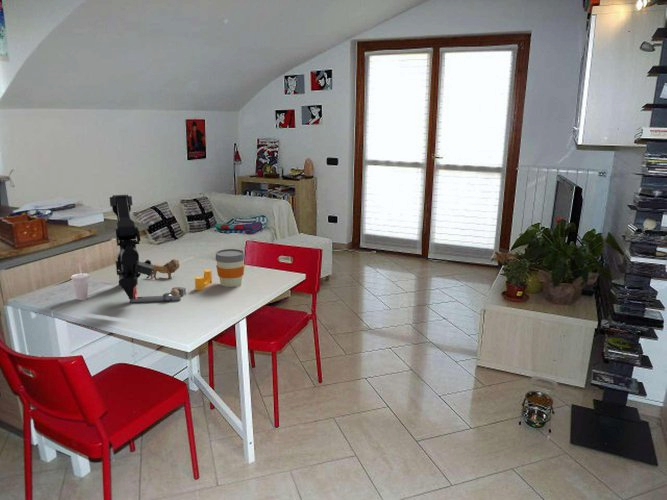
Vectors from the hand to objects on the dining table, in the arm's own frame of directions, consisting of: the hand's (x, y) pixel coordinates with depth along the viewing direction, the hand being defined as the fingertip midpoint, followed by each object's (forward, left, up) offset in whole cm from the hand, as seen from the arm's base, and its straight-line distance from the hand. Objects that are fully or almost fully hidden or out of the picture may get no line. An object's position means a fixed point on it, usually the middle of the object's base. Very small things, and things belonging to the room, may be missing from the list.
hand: (132, 295), depth 193 cm
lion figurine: (-7, +33, -4) cm, 34 cm away
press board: (+3, +4, -4) cm, 7 cm away
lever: (+7, +4, -3) cm, 9 cm away
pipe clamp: (+15, +26, -4) cm, 31 cm away
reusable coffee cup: (+25, +33, -4) cm, 42 cm away
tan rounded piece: (+12, +10, -3) cm, 16 cm away
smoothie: (-24, 0, -4) cm, 24 cm away
